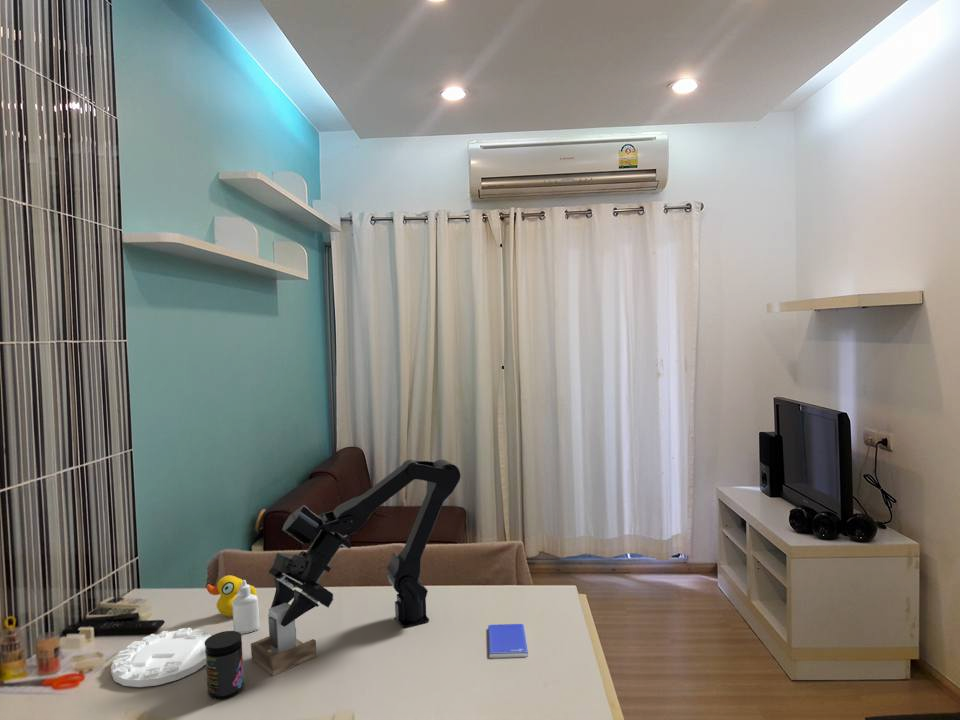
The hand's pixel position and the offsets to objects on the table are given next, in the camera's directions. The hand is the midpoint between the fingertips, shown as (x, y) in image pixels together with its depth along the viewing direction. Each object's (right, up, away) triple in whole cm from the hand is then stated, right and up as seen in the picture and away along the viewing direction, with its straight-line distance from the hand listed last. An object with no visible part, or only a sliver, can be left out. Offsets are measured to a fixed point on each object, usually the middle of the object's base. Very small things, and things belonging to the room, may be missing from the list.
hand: (276, 621), depth 133 cm
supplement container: (-7, -10, -10) cm, 15 cm away
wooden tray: (+1, -8, +2) cm, 9 cm away
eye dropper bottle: (-12, -8, +14) cm, 20 cm away
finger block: (+1, -7, +1) cm, 8 cm away
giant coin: (-24, -10, +2) cm, 26 cm away
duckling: (-18, -8, +22) cm, 30 cm away
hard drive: (+49, -7, +5) cm, 50 cm away
